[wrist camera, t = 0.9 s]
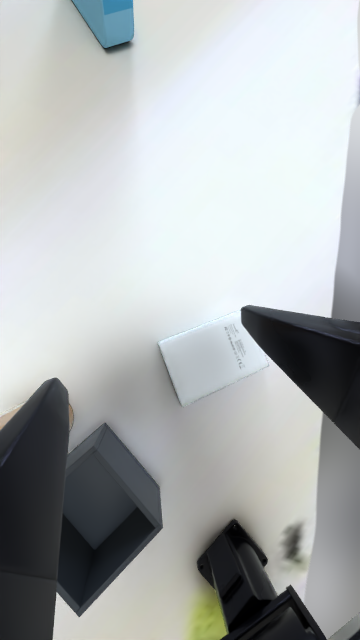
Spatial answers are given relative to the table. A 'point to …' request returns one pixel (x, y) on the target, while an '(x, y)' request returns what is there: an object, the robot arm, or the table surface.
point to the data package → (108, 19)
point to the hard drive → (211, 357)
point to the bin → (103, 517)
